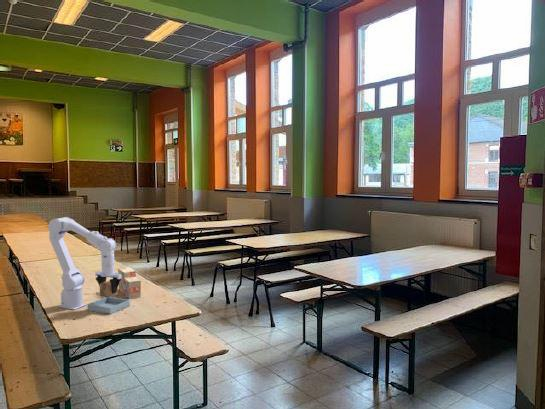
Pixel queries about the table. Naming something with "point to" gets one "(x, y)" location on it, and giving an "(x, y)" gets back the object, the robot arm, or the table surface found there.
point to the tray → (108, 305)
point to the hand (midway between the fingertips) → (108, 291)
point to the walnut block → (107, 290)
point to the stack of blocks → (129, 283)
